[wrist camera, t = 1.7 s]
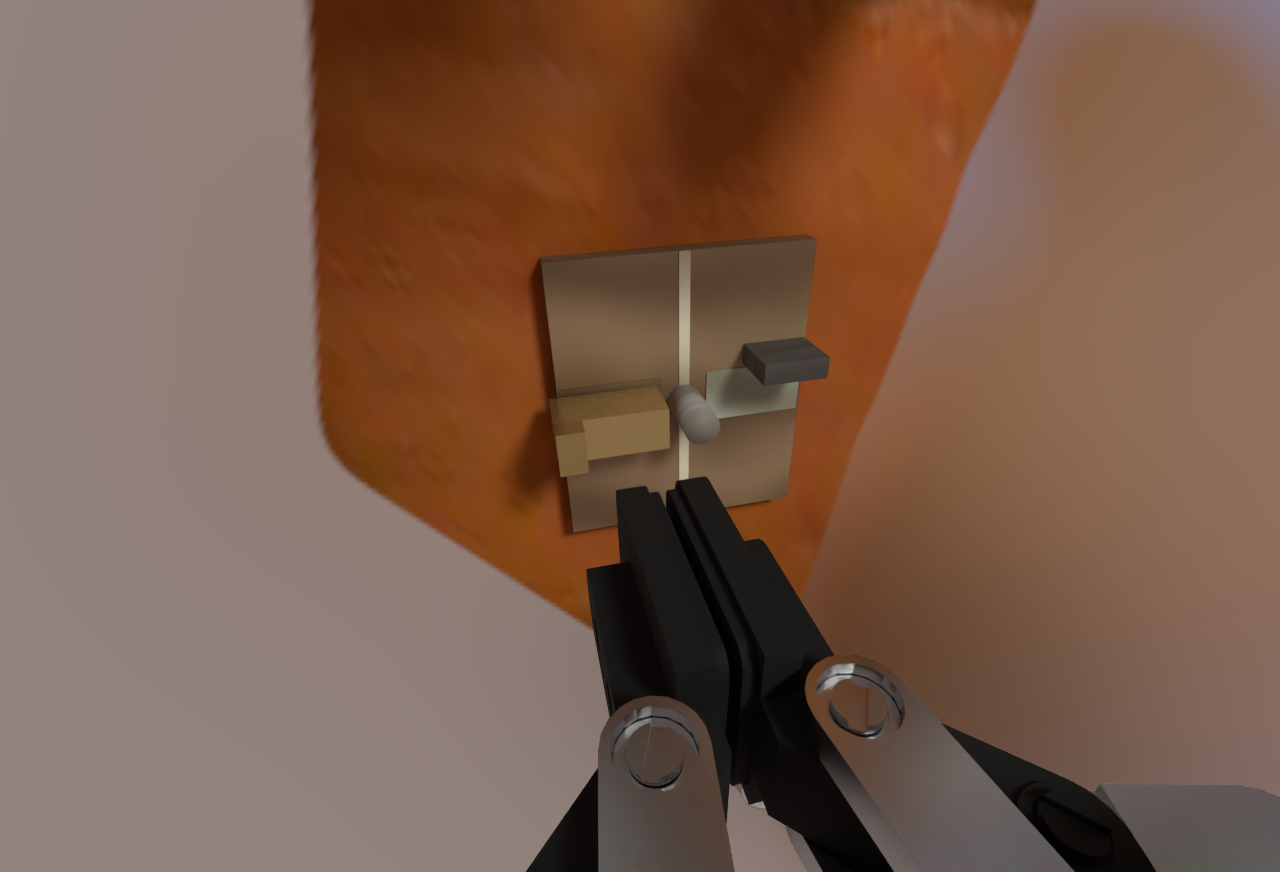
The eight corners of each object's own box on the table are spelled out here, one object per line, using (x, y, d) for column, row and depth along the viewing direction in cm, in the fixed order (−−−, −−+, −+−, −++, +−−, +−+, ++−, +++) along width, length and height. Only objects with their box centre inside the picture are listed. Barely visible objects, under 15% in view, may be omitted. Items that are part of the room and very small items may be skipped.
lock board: (539, 257, 24) (546, 282, 21) (806, 234, 26) (852, 254, 23) (571, 520, 31) (580, 571, 28) (779, 487, 33) (811, 530, 30)
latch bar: (656, 385, 27) (675, 419, 24) (657, 422, 28) (675, 459, 25) (548, 399, 26) (555, 436, 23) (553, 437, 27) (560, 477, 24)
